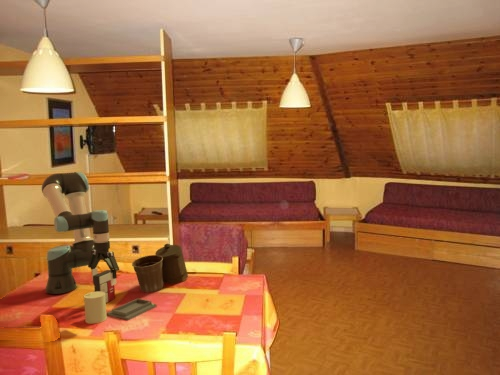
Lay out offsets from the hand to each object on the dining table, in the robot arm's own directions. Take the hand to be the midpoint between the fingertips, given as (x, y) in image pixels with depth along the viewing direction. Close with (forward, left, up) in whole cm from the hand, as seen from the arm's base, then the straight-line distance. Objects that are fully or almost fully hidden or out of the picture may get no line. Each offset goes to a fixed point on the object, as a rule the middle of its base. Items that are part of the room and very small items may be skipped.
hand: (104, 283), depth 208 cm
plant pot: (+8, +24, -9) cm, 27 cm away
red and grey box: (0, 0, -10) cm, 10 cm away
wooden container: (+11, +40, -8) cm, 42 cm away
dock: (+21, -2, -10) cm, 23 cm away
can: (+14, -17, -10) cm, 24 cm away
